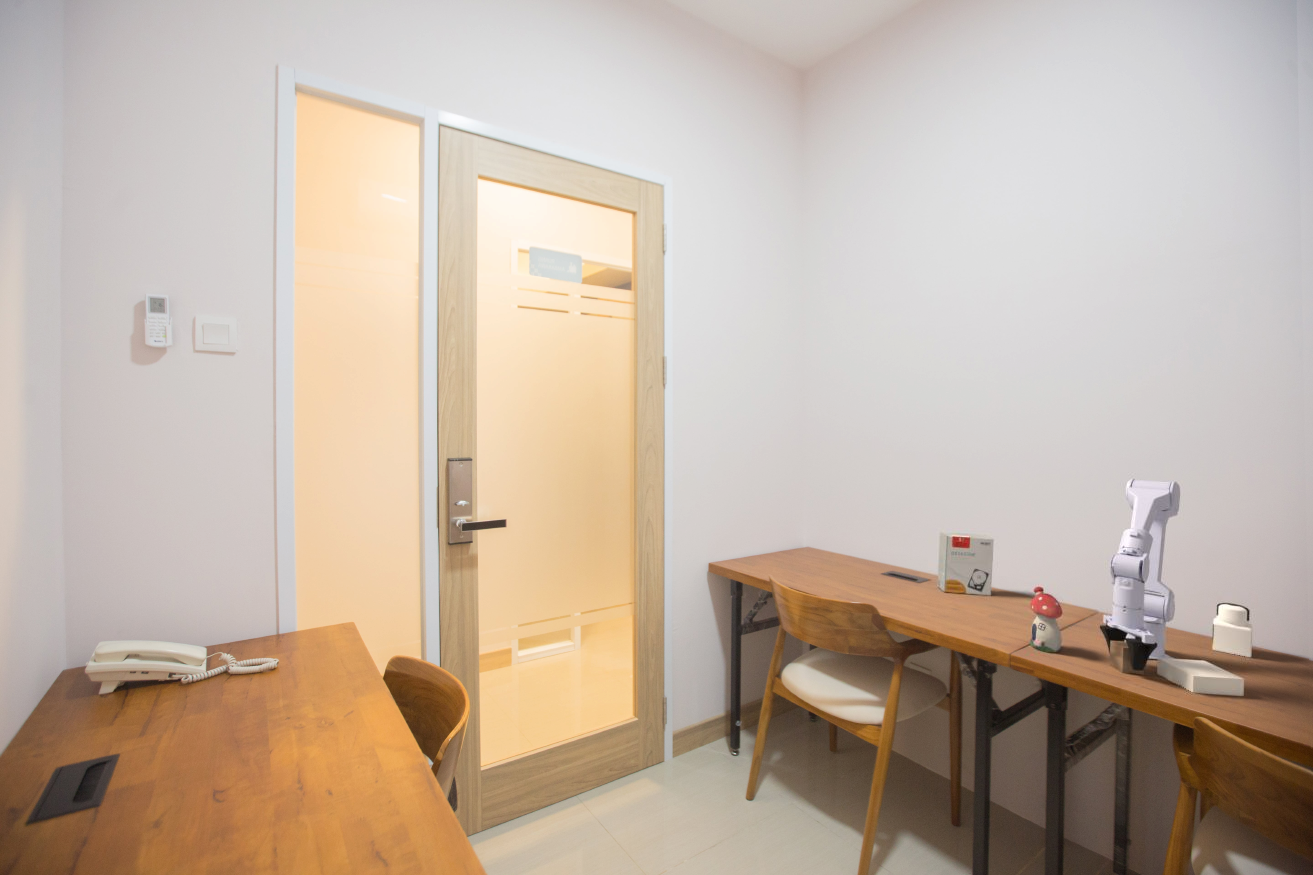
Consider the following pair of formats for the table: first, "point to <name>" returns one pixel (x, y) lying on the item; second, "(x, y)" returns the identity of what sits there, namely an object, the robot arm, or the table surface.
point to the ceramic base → (1200, 677)
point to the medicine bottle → (1232, 630)
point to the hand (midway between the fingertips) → (1126, 663)
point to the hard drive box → (965, 563)
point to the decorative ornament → (1045, 622)
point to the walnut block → (1121, 657)
